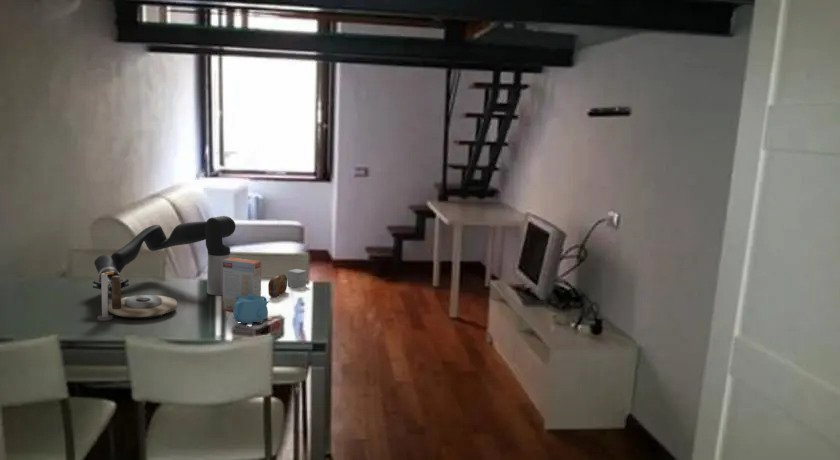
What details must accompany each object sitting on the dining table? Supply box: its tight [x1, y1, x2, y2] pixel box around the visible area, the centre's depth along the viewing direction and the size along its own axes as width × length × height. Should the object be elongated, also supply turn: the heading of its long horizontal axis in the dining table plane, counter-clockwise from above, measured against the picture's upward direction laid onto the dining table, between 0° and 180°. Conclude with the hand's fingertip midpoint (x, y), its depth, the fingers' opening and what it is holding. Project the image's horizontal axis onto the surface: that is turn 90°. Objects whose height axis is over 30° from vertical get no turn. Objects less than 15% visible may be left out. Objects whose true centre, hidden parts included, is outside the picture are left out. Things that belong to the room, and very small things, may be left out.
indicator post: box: [96, 271, 114, 322], centre depth 232 cm, size 6×5×17 cm
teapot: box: [232, 294, 270, 324], centre depth 239 cm, size 13×14×11 cm
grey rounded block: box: [287, 268, 307, 289], centre depth 295 cm, size 6×6×7 cm
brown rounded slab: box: [267, 274, 288, 298], centre depth 279 cm, size 15×3×8 cm, turn 168°
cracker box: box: [222, 256, 262, 313], centre depth 251 cm, size 14×6×21 cm, turn 71°
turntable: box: [108, 275, 178, 317], centre depth 243 cm, size 24×24×14 cm
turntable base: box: [119, 314, 165, 320], centre depth 244 cm, size 18×18×2 cm
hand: (112, 289), depth 236 cm, fingers closed
